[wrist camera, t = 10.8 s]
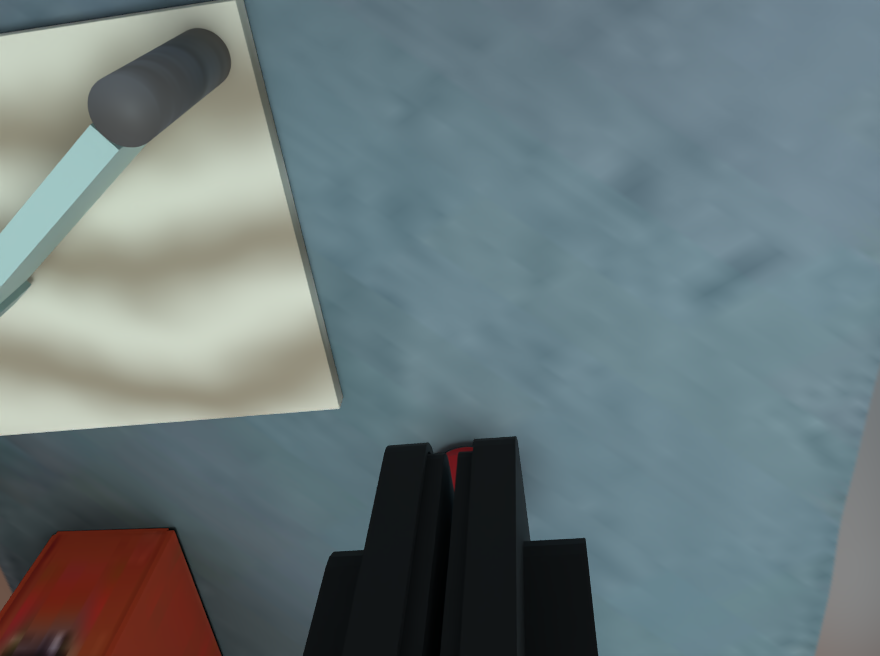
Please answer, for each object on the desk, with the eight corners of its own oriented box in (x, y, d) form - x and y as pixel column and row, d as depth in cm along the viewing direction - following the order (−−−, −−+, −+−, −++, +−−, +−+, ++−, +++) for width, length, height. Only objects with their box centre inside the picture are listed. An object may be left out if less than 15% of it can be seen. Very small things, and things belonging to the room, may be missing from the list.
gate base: (-189, 62, 36) (-380, 120, 29) (242, -4, 34) (161, 40, 26) (-3, 425, 46) (-107, 542, 38) (343, 397, 43) (306, 517, 36)
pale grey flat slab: (159, 70, 34) (82, 118, 28) (193, 102, 34) (126, 156, 28) (-18, 279, 40) (-113, 356, 34) (14, 303, 40) (-74, 384, 34)
